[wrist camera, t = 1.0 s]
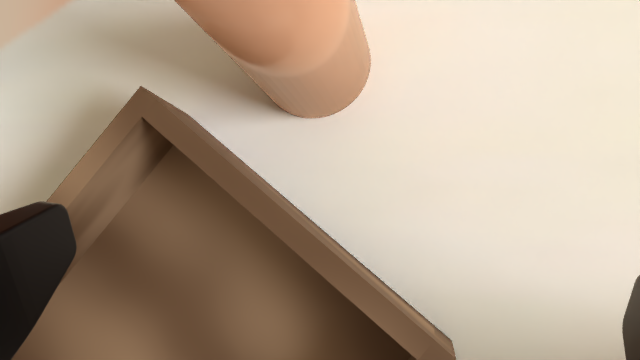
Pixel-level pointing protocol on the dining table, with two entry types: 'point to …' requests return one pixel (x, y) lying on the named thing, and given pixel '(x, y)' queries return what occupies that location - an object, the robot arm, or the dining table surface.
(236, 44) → the canister
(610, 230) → the dining table surface
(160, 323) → the tray
